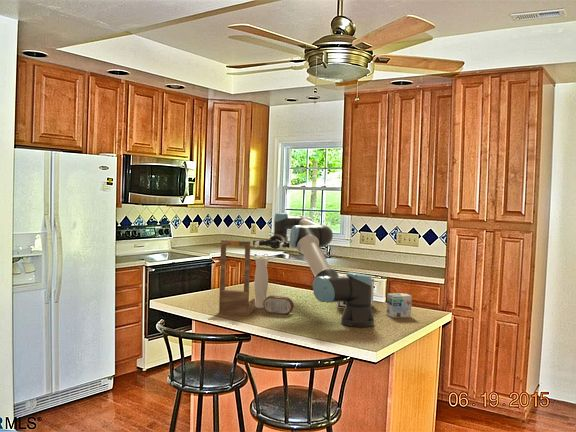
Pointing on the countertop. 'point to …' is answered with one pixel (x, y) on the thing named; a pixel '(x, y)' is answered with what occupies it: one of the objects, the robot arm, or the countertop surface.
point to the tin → (278, 305)
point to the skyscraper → (261, 280)
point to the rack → (235, 299)
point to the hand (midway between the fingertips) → (267, 245)
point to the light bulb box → (399, 305)
